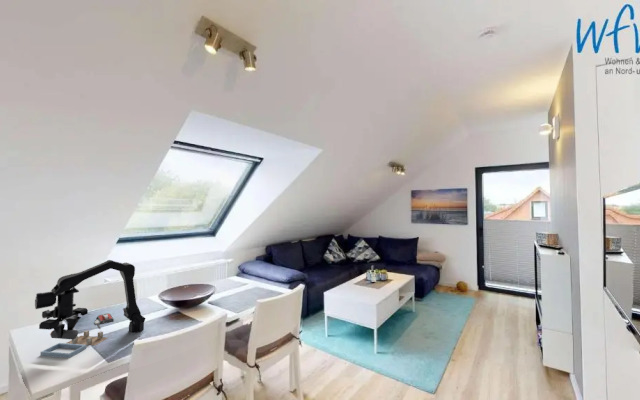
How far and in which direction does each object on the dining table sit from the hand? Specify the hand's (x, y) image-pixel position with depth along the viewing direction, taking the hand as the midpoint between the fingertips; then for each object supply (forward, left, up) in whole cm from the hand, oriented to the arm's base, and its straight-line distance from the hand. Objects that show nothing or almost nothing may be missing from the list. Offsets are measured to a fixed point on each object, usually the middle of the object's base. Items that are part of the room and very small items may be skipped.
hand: (64, 335), depth 136 cm
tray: (0, 0, -9) cm, 9 cm away
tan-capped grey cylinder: (0, 0, -1) cm, 1 cm away
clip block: (-1, -11, -9) cm, 14 cm away
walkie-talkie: (+10, -33, -9) cm, 36 cm away
